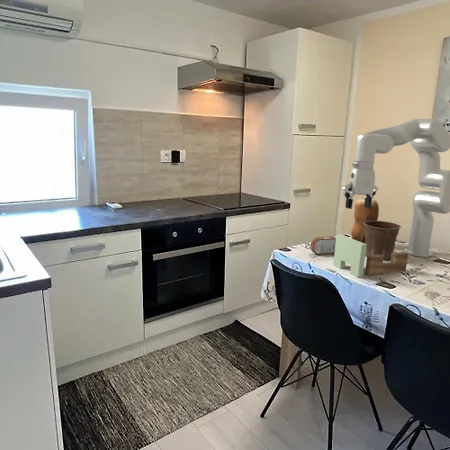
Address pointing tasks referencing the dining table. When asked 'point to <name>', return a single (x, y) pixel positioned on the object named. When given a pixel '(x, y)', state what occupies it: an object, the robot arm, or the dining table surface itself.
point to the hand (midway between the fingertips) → (357, 207)
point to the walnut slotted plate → (386, 264)
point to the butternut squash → (363, 218)
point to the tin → (323, 245)
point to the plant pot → (380, 238)
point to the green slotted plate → (350, 254)
